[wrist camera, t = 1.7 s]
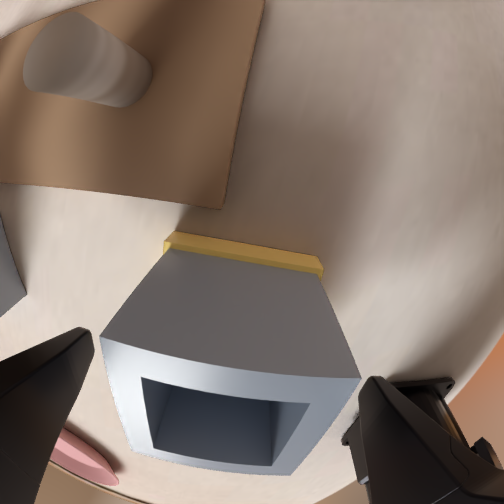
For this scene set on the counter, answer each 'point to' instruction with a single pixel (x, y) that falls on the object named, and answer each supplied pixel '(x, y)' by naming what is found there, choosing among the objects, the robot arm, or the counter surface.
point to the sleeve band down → (228, 357)
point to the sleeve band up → (8, 276)
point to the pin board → (150, 131)
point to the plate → (82, 459)
